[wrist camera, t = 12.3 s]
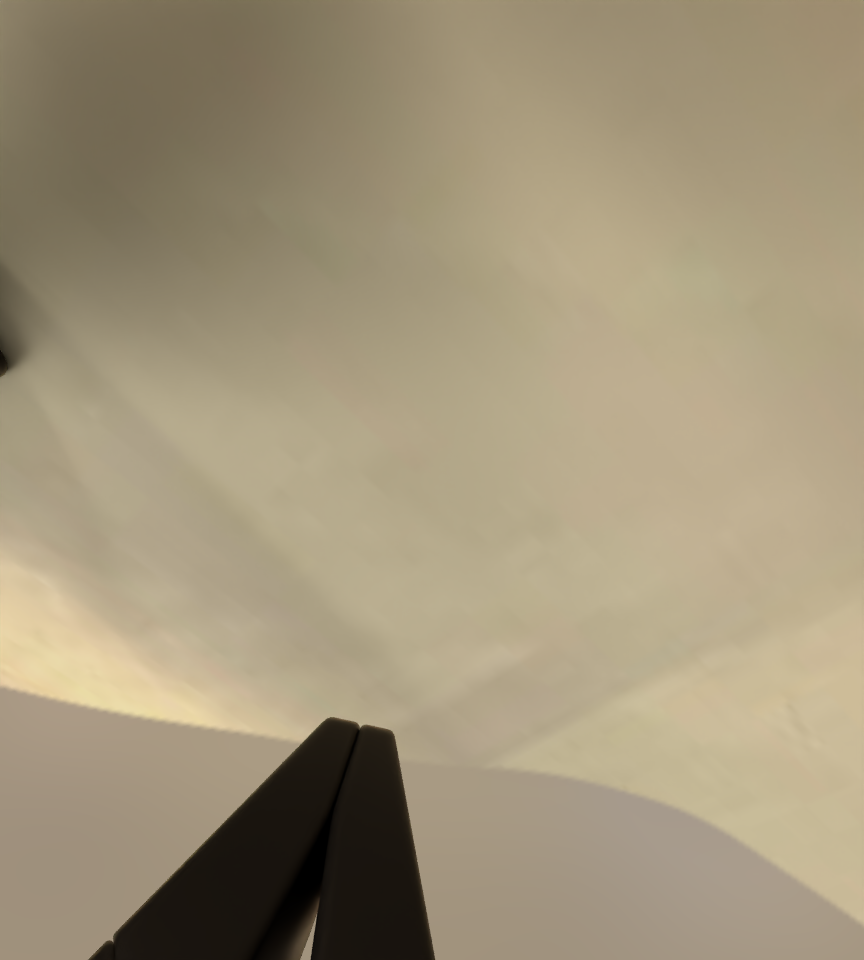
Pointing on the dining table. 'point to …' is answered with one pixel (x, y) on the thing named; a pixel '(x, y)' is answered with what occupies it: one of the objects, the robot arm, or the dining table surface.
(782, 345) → the dining table surface
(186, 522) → the dining table surface
